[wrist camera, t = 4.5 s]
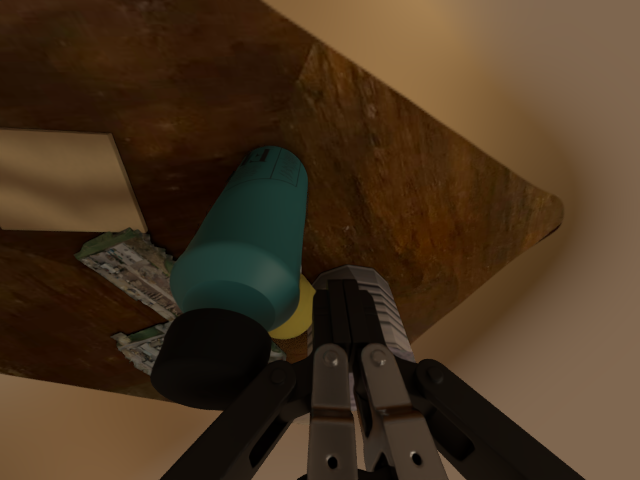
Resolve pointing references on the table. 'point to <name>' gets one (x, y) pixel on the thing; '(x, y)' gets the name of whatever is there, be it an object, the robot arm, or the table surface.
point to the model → (140, 288)
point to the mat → (64, 183)
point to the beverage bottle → (235, 283)
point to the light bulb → (298, 314)
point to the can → (384, 307)
